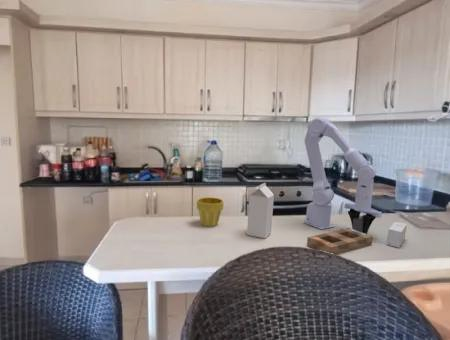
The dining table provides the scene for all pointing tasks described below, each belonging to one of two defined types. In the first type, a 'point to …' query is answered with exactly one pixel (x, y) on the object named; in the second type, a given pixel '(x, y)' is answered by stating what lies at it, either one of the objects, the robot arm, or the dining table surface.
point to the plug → (358, 224)
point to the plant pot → (209, 210)
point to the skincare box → (396, 234)
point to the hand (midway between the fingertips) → (359, 230)
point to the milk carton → (260, 212)
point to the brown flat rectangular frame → (339, 241)
